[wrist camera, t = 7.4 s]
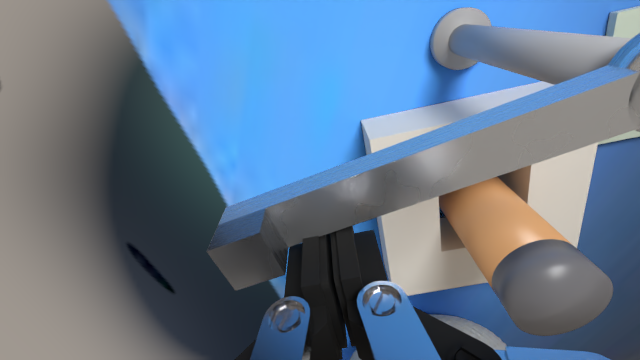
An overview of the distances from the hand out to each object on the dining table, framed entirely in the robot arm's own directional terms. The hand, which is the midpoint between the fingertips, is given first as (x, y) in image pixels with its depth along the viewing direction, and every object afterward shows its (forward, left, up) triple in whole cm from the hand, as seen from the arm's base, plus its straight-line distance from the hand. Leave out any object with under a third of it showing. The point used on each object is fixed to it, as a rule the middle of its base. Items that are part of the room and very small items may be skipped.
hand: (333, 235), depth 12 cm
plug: (-10, +7, -13) cm, 17 cm away
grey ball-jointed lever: (-4, -3, +1) cm, 5 cm away
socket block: (-10, +4, -13) cm, 16 cm away
